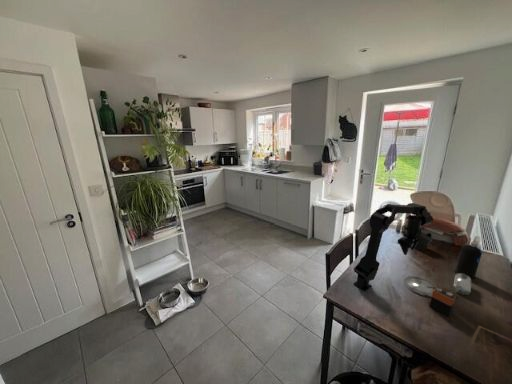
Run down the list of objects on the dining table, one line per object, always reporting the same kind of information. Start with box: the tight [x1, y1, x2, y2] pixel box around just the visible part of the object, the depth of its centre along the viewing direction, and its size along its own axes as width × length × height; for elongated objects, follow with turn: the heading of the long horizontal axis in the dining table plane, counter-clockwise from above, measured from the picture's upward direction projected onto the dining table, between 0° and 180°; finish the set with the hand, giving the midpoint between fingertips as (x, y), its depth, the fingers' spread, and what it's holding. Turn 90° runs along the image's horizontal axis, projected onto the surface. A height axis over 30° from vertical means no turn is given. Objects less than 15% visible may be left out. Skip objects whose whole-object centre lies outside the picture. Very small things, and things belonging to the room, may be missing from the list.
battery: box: [429, 286, 457, 317], centre depth 91 cm, size 4×7×10 cm, turn 34°
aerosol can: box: [454, 241, 483, 280], centre depth 111 cm, size 8×8×20 cm
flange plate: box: [404, 276, 437, 298], centre depth 106 cm, size 14×14×1 cm
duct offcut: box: [452, 273, 472, 296], centre depth 103 cm, size 10×6×6 cm, turn 134°
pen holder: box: [414, 241, 429, 252], centre depth 141 cm, size 9×9×10 cm
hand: (408, 252), depth 114 cm, fingers open, 9 cm apart
